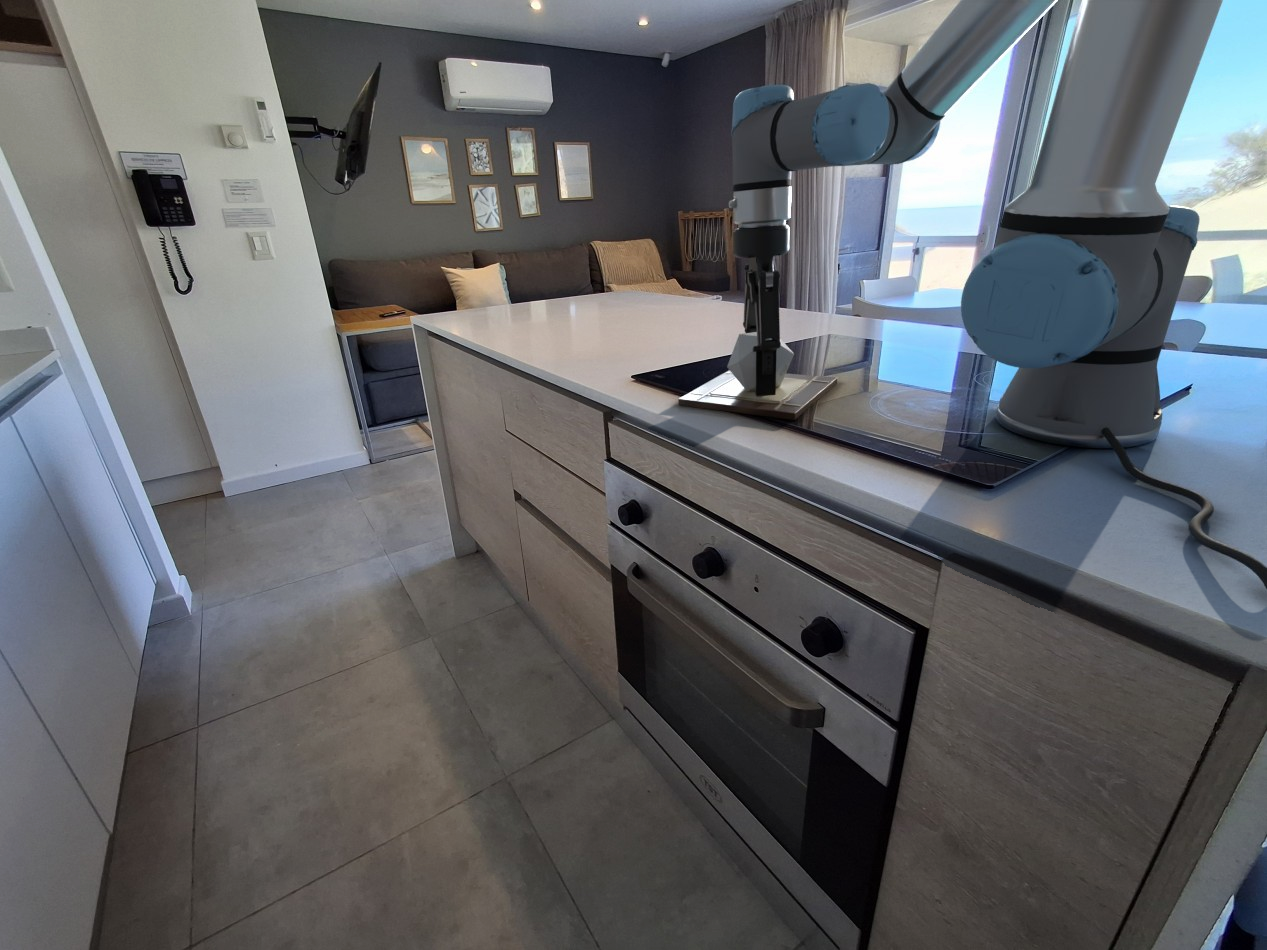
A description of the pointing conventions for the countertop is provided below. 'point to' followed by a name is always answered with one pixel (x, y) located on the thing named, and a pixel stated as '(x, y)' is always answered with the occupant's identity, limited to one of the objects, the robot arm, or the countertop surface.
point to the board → (734, 398)
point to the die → (745, 361)
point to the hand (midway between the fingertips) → (759, 385)
